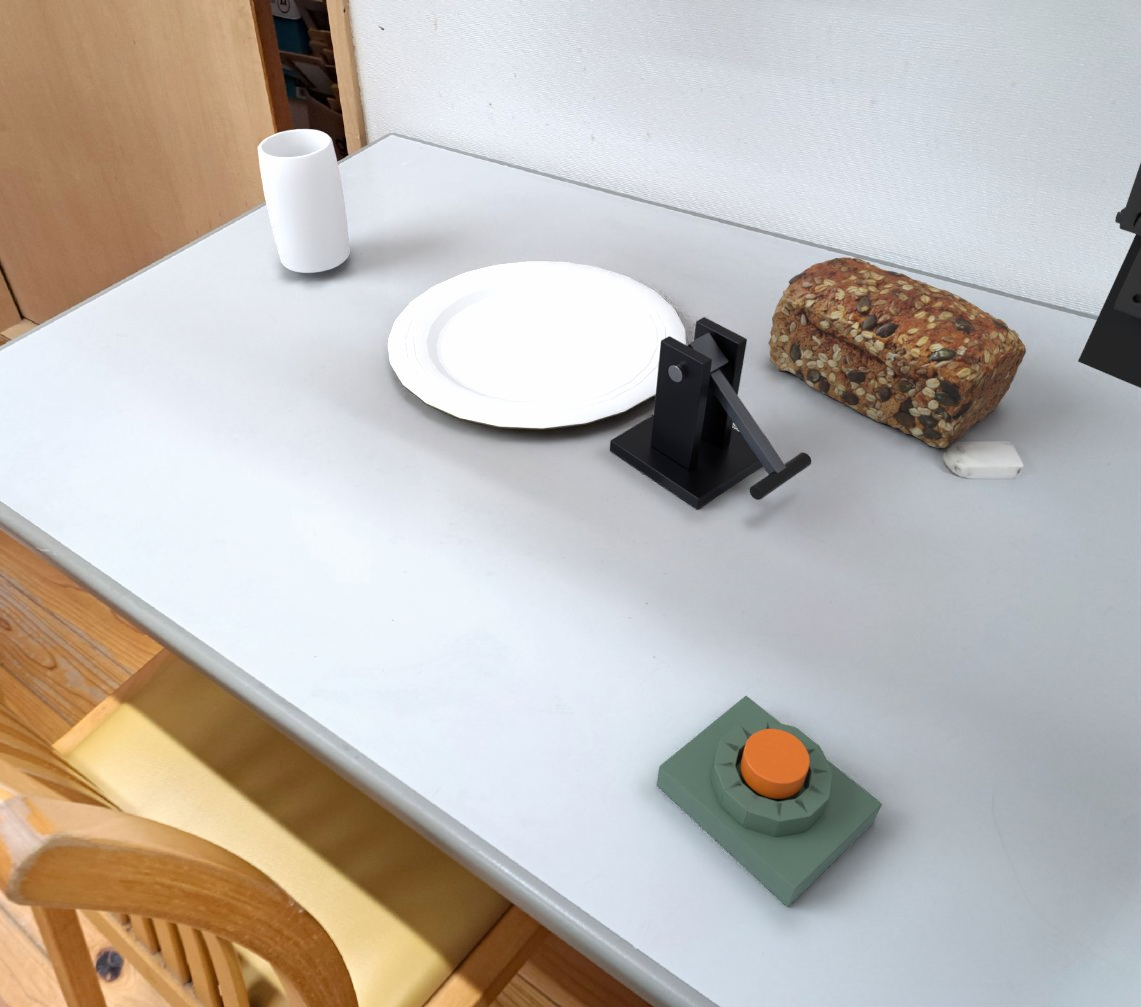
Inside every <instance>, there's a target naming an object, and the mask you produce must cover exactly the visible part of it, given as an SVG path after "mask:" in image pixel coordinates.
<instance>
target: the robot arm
mask: <svg viewBox="0 0 1141 1007" xmlns="http://www.w3.org/2000/svg"><path fill="white" fill-rule="evenodd" d="M1115 215H1116V216H1115V220H1114V222H1115V223H1116V224H1118V225H1119V229H1120V230H1122V231H1125V232H1128V233H1130V234H1135V235H1134V237H1133V239H1132V242H1131V244H1130V246H1129V249H1128V250H1127V253H1126V255H1125V257H1124V259H1123V262H1122V264H1121V266H1120V267H1119V270H1118V272H1117V275H1116V277H1115V278H1114V281H1113V284H1112V286H1111V287H1110V290H1109V292H1108V294H1107V296H1106V299H1105V300H1104V302H1103V306H1102V308H1101V310H1100V312H1099V314H1098V316H1097V318H1096V321H1095V323H1094V325H1093V327H1092V330H1091V331H1090V334H1089V335H1088V338H1087V341H1086V343H1085V345H1084V346H1083V349H1082V351H1081V353H1080V355H1079V358H1078V360H1077V363H1080V364H1083V365H1085V366H1087V367H1089V368H1092V369H1095V370H1097V371H1099V372H1101V373H1104V374H1105V375H1108V376H1111V377H1114V378H1116V379H1119V380H1120V381H1122V382H1126V383H1128V384H1129V385H1132V386H1134V387H1136V388H1139V389H1141V162H1140V164H1139V166H1138V169H1137V172H1136V175H1135V178H1134V181H1133V184H1132V187H1131V190H1130V193H1129V196H1128V198H1127V202H1126V205H1125V207H1123V208H1122V209H1121V210H1120V211H1117V212H1116V214H1115Z"/></svg>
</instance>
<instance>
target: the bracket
mask: <svg viewBox="0 0 1141 1007" xmlns="http://www.w3.org/2000/svg"><path fill="white" fill-rule="evenodd" d="M707 333H710V335H711V336H712V338H713V339H714V341H715V342H716V344H717V345H718V346H719V348H720V349H721V351H722V352H723V354H724V355H725V357H726V358H727V360H728V363H727V364H725V365H724V366H723V367H721V368H720V370H721V372H722V373H723V375H724V376H725V378H726V379H727V381H728V382H729V384H730V385H731V387H732V388H733V390H734V391H735V392H736V394H737V395H738V396H739V391H740V386H741V385H740V384H741V378H742V372H743V367H744V362H745V355H746V349H747V343H748V338H746V337H744V336H742V335H740V334H739V333H736V332H734V331H733V330H730V329H728V328H727V327H725V326H723V325H720V324H719V323H717V322H715V321H713V320H711V319H709V318H707V317H705V316H703V317H701V318H700V319H698V320H696V321H695V327H694V335H693V341H694V340H696V339H698V338H699V337H701V336H703V335H705V334H707ZM687 345H688V344H686V345H685V344H683V343H681V342H679V341H678V340H676V339H674V338H672V337H670V336H668V337H667V338H665V339H663V340H661V344H660V355H659V365H658V376H657V386H656V395H655V396H654V397H655V398H654V407H653V408H654V409H653V415H651V416H649V417H647V418H645V419H644V420H642V421H641V422H638V423H637V424H636V425H634V426H632V427H631V428H629V429H627V430H626V431H624V432H622V433H620V434H619V435H617V436H615V437H613V438H612V439H610V440H609V451H610V452H611V453H612V454H614V455H616V456H617V457H618V458H619V459H621V460H623V461H624V462H626V463H627V464H629V466H632V467H633V468H634V469H636V470H637V471H639V472H640V473H642V474H643V475H645V476H646V477H648V478H649V479H651V480H652V481H654V482H655V483H657V484H658V485H660V486H661V487H663V489H664V488H665V489H666V490H667V491H669V492H670V493H671V494H673V495H675V496H676V497H677V498H679V499H681V500H682V501H684V502H685V503H686V504H688V505H689V506H690V507H692V508H694V509H695V510H699V509H700V508H702V507H704V506H705V505H706V504H708V503H709V502H711V501H713V500H714V499H716V498H717V497H718V496H720V495H722V494H723V493H724V492H726V491H727V490H728V489H730V488H732V487H733V486H735V485H736V484H738V483H739V482H741V481H742V480H743V479H745V478H747V477H749V476H750V475H751V474H753V473H754V472H756V471H757V470H759V469H760V468H762V467H763V465H762V464H761V463H760V461H759V460H758V458H757V457H756V455H755V454H754V452H753V451H752V449H751V448H750V446H749V445H748V443H747V442H746V440H745V439H744V437H743V436H742V435H741V433H740V432H739V430H738V429H737V428H734V427H733V426H734V423H733V421H732V420H731V418H730V417H729V415H728V414H727V412H726V411H725V409H724V408H723V407H722V405H721V404H720V402H719V401H718V399H717V398H716V396H715V395H714V393H713V392H712V390H711V389H710V387H709V379H710V372H711V365H712V359H711V358H709V357H707V356H705V355H703V354H701V353H700V352H698V351H696V350H694V349H692V348H690V347H689V346H687Z"/></svg>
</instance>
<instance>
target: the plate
mask: <svg viewBox="0 0 1141 1007" xmlns="http://www.w3.org/2000/svg"><path fill="white" fill-rule="evenodd" d="M668 336H670V337H672V338H674V339H676V340H678V341H679V342H681V343H683V344H685V345H687V338H686V328H685V326H684V324H683V322H682V320H681V318H680V316H679V315H678V313H677V311H676V309H675V307H673V306H672V305H671V304H670V303H669V302H668V301H667V300H665V299H664V298H663V297H662V296H661V295H660V294H659V293H658V292H657V291H656V290H654V289H652V288H651V287H648V286H647V285H645V284H643V283H641V282H639V281H637V280H636V279H634V278H633V277H630V276H628V275H624V274H621V273H619V272H615V271H612V270H609V269H605V268H602V267H599V266H595V265H588V264H582V263H581V264H580V263H575V262H570V261H569V262H568V261H553V260H552V261H550V260H549V261H548V260H527V261H517V262H509V263H508V262H507V263H500V264H492V265H489V266H485V267H481V268H477V269H473V270H469V271H466V272H461V273H460V274H458V275H455V276H453V277H450V278H449V279H446V280H444V281H441V282H440V283H437V284H434V285H432V286H431V287H430V288H428V289H427V290H425V291H424V292H423V293H421V294H420V295H418V296H417V297H416V298H414V299H412V300H411V301H410V302H409V303H408V304H407V306H406V307H405V308H404V309H403V310H402V311H401V312H400V314H399V315H398V316H397V317H396V318H395V319H394V322H393V325H392V327H391V330H390V333H389V336H388V338H387V350H388V361H389V365H390V367H391V369H392V370H393V373H395V376H396V377H397V378H398V380H399V382H400V383H401V385H402V387H404V389H406V390H407V391H408V392H410V393H411V394H412V395H414V396H415V397H416V398H417V399H419V401H421V402H422V403H424V404H425V405H426V406H428V407H430V408H433V409H436V410H438V411H440V412H442V413H444V414H447V415H449V416H451V417H454V418H456V419H458V420H461V421H465V422H471V423H474V424H480V425H484V426H488V427H493V428H498V429H514V430H515V429H516V430H536V431H546V430H552V429H561V428H562V429H563V428H570V427H577V426H586V425H589V424H594V423H596V422H599V421H602V420H606V419H609V418H611V417H616V416H619V415H623V414H625V413H627V412H629V411H630V410H632V409H634V408H636V407H637V406H640V405H641V404H643V403H645V402H647V401H648V400H650V399H652V398H653V397H655V396H656V386H657V376H658V365H659V355H660V344H661V340H663V339H665V338H667V337H668Z"/></svg>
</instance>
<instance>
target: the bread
mask: <svg viewBox="0 0 1141 1007" xmlns="http://www.w3.org/2000/svg"><path fill="white" fill-rule="evenodd" d="M771 321H772V322H771V323H772V325H771V328H770V333H769V334H770V338H769V340H768V343H767V344H768V346H769V356H770V357H769V358H770V362H771V363H772V364H773V365H774V366H775V367H776V368H777V369H778V371H779V372H786V371H787V372H789V373H791V374H792V375H794V376H796V377H797V378H798V379H800V380H801V381H802V382H804V381H805V383H806V385H807V386H809V387H811V388H813V389H814V390H816V391H820V392H821V393H822V394H823V395H827V396H829V397H830V398H832V399H834V400H836V401H838V402H840V403H841V404H843V405H845V406H847V407H849V408H851V409H853V410H855V411H856V412H858V413H860V414H862V415H863V416H866V417H868V418H870V419H872V420H874V422H877V423H880V424H885V425H887V426H890V427H892V428H893V429H895V430H897V429H899V430H900V431H901V432H902V433H903V434H907V435H912V436H913V437H915V438H917V439H918V440H921V441H923V442H924V443H925V444H927V445H928V446H929V447H933V448H937V449H938V448H939V449H945V448H949V446H951V444H952V443H953V442H956V441H959V439H961V437H963V435H964V434H965V433H966V432H967V430H968V429H970V428H972V427H973V426H974V425H975V424H976V423H977V422H981V421H983V420H984V419H985V418H986V417H988V415H990V414H991V413H992V412H993V411H994V410H995V409H996V408H997V407H998V406H999V404H1000V403H1001V401H1002V399H1003V398H1004V397H1005V395H1006V394H1007V392H1008V391H1009V390H1010V388H1011V385H1012V383H1013V381H1014V380H1015V377H1016V374H1017V372H1018V370H1019V367H1020V366H1021V364H1022V363H1023V359H1024V357H1025V355H1026V353H1027V349H1026V345H1025V344H1024V342H1023V341H1022V339H1021V338H1020V337H1019V333H1018V332H1016V331H1015V330H1013V329H1011V328H1010V327H1009V326H1008V324H1007V323H1006V322H1005V321H1003V319H1001V318H996V317H995V316H993V315H991V314H990V313H989V312H987V311H984V310H983V309H981V308H980V307H978V306H976V305H975V304H973V303H972V302H969V301H968V300H967V299H964V298H963V297H961V296H960V295H957V294H955V293H952V292H950V291H948V290H945V289H941V288H938V287H935V286H933V285H931V284H928V283H927V282H924V281H923V282H922V281H920V280H918V279H914V278H912V277H910V276H908V275H907V274H904V273H901V272H896V271H894V270H893V271H892V270H886V269H882V268H881V267H879V266H878V265H877V264H871V263H870V262H869V261H865V260H863V259H861V258H858V257H845V256H844V257H843V256H842V257H835V258H832V259H828V260H825V261H822V262H815V263H814V264H812V265H811V266H810V267H808V268H806V269H805V270H803V271H802V272H801V273H798V274H796V275H794V276H793V277H792V278H790V279H789V280H788V286H787V287H786V289H785V290H783V291H782V296H781V297H780V299H779V300H778V302H777V305H776V306H775V309H774V312H773V315H772V317H771Z"/></svg>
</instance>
